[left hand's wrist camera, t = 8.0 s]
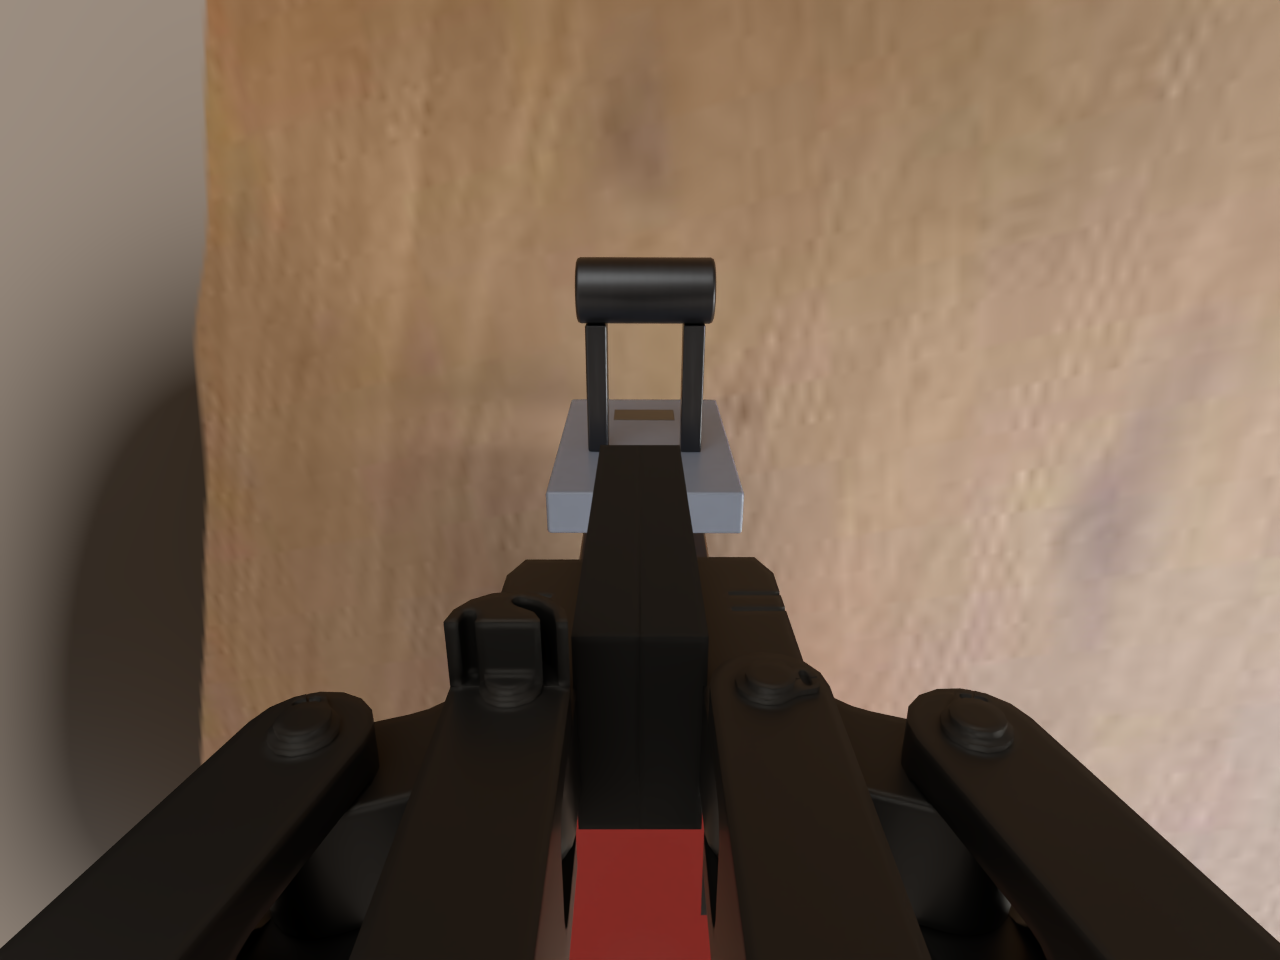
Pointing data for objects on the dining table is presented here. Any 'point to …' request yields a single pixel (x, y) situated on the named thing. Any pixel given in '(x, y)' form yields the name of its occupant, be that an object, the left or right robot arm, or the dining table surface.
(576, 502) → the drawer
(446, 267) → the dining table surface
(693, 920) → the red box housing
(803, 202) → the dining table surface
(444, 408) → the dining table surface
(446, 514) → the dining table surface
